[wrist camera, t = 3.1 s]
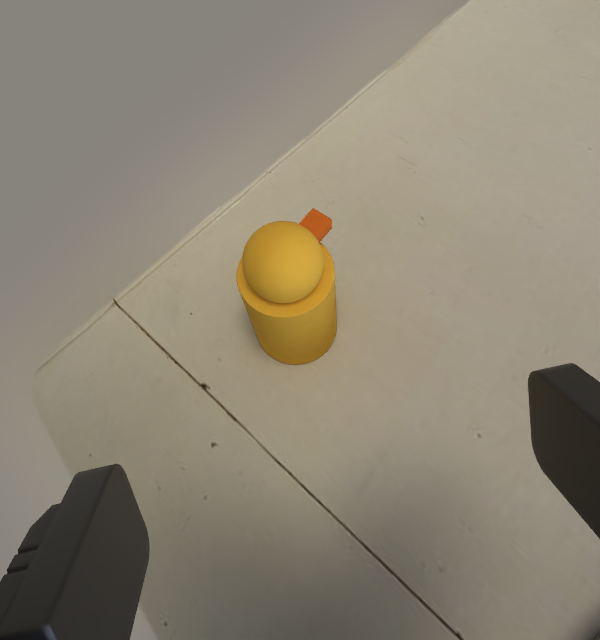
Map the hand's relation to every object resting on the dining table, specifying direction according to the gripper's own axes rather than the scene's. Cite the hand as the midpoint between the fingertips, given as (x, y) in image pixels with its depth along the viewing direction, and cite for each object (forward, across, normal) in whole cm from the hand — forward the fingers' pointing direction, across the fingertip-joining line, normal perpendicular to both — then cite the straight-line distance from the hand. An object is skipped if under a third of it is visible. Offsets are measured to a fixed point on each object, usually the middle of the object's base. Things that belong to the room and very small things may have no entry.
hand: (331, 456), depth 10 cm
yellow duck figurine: (+22, 0, +6) cm, 23 cm away
